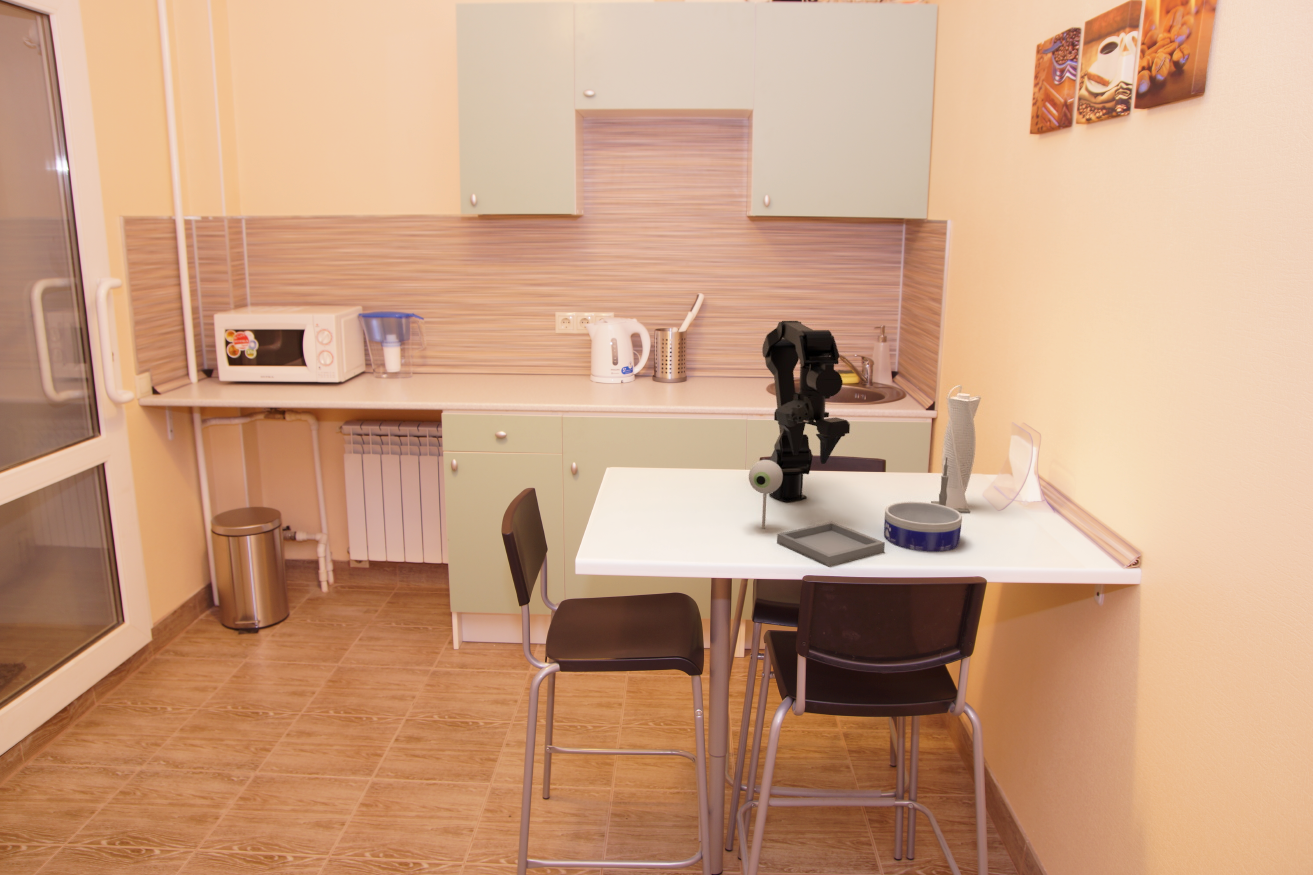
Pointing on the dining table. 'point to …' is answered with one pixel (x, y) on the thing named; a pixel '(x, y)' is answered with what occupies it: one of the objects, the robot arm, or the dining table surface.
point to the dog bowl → (922, 526)
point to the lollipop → (765, 480)
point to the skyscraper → (958, 451)
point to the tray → (830, 543)
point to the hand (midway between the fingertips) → (809, 458)
